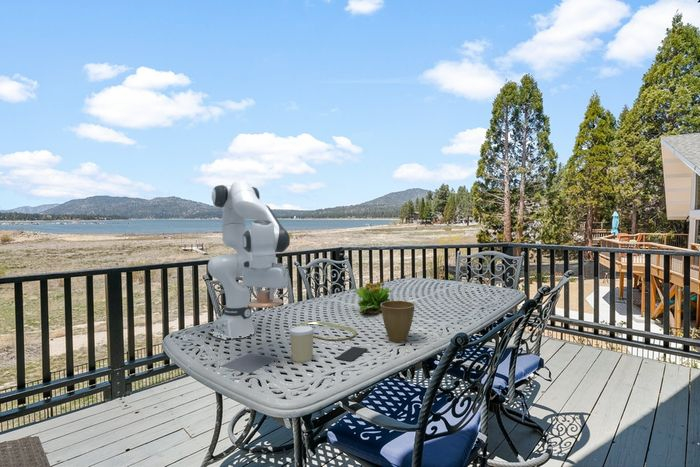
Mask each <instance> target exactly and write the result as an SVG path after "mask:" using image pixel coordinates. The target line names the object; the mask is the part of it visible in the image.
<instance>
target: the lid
mask: <svg viewBox="0 0 700 467" xmlns="http://www.w3.org/2000/svg"><path fill="white" fill-rule="evenodd" d="M270 292H271V291H270V290H269V289H268V290H267V289H265V290H260V292H257V293H256V295H257V294H258V298H257V299H255V300H250V302H248V306H249V307H252V308H254V309H263V308H273V307H278V306H281V305H283V303H284V302H283V301H284V300H283V299H281V298H276V297H274V299H273V300H268V295H270Z"/></svg>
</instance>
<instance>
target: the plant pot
mask: <svg viewBox="0 0 700 467" xmlns="http://www.w3.org/2000/svg"><path fill="white" fill-rule="evenodd" d="M415 307H416V306H415V303H413V302H411V301H405V300H394V301H391V300H390V301H387V302H383V303H381V311H380V312H381V315H382V319H383V324H384V328H385V330H386V335H387V338H388V339H389V341H390V342H392V343H403V342H406V341H407V339H408V337H409V334H410V330H411V327H412V323H413V319H414V312H415Z"/></svg>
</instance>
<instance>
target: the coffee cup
mask: <svg viewBox="0 0 700 467" xmlns="http://www.w3.org/2000/svg"><path fill="white" fill-rule="evenodd" d="M288 333H289V339H290V340H289V341H290V349H291V357H292V361H293V362H296V363H306V362H310V361H312V360H313V356H314V355H313V354H314V337H313V335H314V328H313V326H311V325H306V326H297V327H294V326H293V327H292V328H290V330H289V332H288Z"/></svg>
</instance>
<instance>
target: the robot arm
mask: <svg viewBox="0 0 700 467" xmlns="http://www.w3.org/2000/svg"><path fill="white" fill-rule="evenodd" d="M260 199H261V197H260V191H259V190H258V188H257V187H254V186H252V185H251V183H249V181H247V180H245V179H238V180H235V181H234V182H233V183H232V184H230V185H229V184H228V185H227V184H226V185H223V184H220V185H216V186H214V188H213V189H212V192H211V200H212V203H213V205H214V206H215V207H217V208H220V209H221V208H223V209H222V215H221V231H222V233H221V234H222V241H223V244H224V245H225V246H227V247H228V248H232V249H234V250H235V251H236V253H232V254H231V253H230V254H228V253H227V254H220V255H216V256H213V257H211V258H210V259H209V260H208V263H207V270H208V273H209V275H210V276H211V277H212V278H214V279H215V280H217V281H218V282H219V283H220V284H221V286H222V287H223V291H224V296H225V306H224V307H223V308H222V311H223V314H222V315H221V316H220V317H219V318H217V319H216V320H215V321H214V324H213V330H214V331H215V332H218V333H220V334H223V335H226V336H228V337H229V338H230V337H239V336H246V335H250V334H252V333H253V332H254V331H255V327H254V323H253V322H254V321H253V317H252V308H253V307H249V306H248V302H250V301H251V294H250V293H251V290H250V288H249V287H252V288H253V287H254V292H255V293H256V298H257V299H258V294H257V292H260V291H261V289H262V288H263V289H265V288H266V289H268V290H269V291H271V292H270V295H268V300H273V299H274V298H275V294H276V292H277V289H279V290H282V289H286V288H287V287H288V286H289V280H288V272H287V267H286V266H285V265H284V263H282V262H279V263H277V259H276V258H277V256H276V255H277V254H276V253H284V252H285V250H287V249H288V248H289V246H290V242H291V240H290V235H289V234H290V233H289V232H288V231H287V229H285V228H284V226H282V224H281V223H280V221H279V220H278V218H277V216H276V215H275V213H274V212H273V210H272V209H271V207H270V206H269V205H267V204H266V203H264V202H263V201H261V200H260ZM246 219H249V220H254V221H252V223H251V228H250V229H247V226H246ZM238 277H239V278H242V279H241V280H242V281H241V282H242V283H241V282H239V281H237V280H236V278H238ZM253 327H254V328H253Z"/></svg>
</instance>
